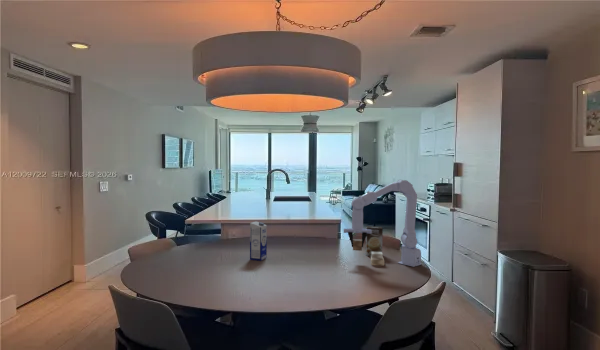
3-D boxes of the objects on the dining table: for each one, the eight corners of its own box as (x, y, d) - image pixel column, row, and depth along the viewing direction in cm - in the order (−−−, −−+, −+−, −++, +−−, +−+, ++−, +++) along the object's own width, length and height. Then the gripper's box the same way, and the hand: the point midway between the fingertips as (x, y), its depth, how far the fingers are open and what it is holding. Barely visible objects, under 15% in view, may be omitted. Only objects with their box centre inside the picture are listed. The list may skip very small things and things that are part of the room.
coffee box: (366, 255, 207) (366, 227, 207) (365, 253, 214) (365, 226, 214) (382, 256, 207) (382, 228, 206) (381, 253, 213) (381, 226, 213)
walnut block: (361, 248, 194) (361, 239, 194) (361, 250, 189) (361, 241, 189) (352, 248, 194) (353, 239, 194) (353, 250, 190) (353, 240, 190)
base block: (383, 263, 193) (383, 257, 193) (384, 266, 187) (384, 260, 187) (370, 262, 194) (370, 256, 194) (371, 265, 188) (371, 259, 188)
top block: (381, 257, 193) (381, 251, 193) (382, 260, 187) (382, 254, 187) (371, 257, 194) (371, 251, 194) (371, 259, 188) (371, 253, 188)
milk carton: (255, 256, 202) (255, 220, 202) (266, 257, 200) (267, 221, 200) (249, 259, 196) (250, 222, 195) (261, 260, 193) (261, 223, 193)
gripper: (343, 221, 188) (343, 247, 189) (372, 222, 187) (371, 248, 187) (343, 219, 195) (343, 245, 196) (371, 220, 194) (370, 246, 194)
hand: (357, 246), depth 192 cm, fingers closed on walnut block, 4 cm apart
